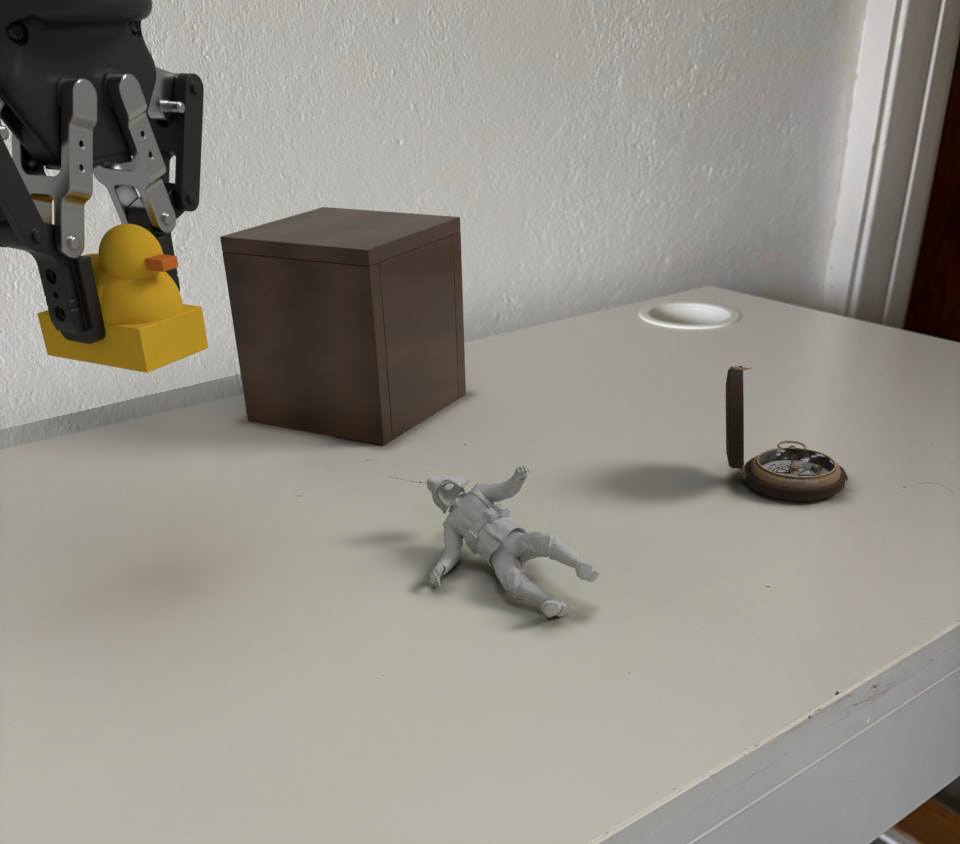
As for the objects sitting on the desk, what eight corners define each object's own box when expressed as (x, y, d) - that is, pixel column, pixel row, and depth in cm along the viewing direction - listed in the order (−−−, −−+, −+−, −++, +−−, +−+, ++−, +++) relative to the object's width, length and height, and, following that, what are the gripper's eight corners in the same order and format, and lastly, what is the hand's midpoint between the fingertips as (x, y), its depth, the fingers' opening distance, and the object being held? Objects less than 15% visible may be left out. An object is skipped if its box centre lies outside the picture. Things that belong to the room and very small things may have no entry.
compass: (850, 507, 61) (872, 387, 57) (715, 499, 63) (727, 382, 59) (839, 456, 68) (857, 346, 64) (716, 450, 69) (727, 342, 66)
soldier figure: (504, 658, 50) (360, 515, 55) (540, 676, 54) (403, 542, 60) (611, 537, 49) (454, 403, 54) (639, 564, 53) (491, 438, 59)
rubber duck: (47, 355, 49) (14, 224, 46) (111, 332, 52) (85, 208, 49) (155, 374, 46) (129, 237, 43) (217, 349, 50) (196, 219, 46)
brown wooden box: (247, 420, 76) (219, 236, 70) (339, 374, 85) (322, 206, 78) (383, 445, 72) (368, 250, 65) (466, 393, 80) (460, 216, 74)
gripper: (98, -105, 46) (167, 285, 56) (-206, -128, 36) (-59, 358, 45) (228, -115, 43) (278, 299, 53) (-63, -143, 33) (64, 382, 42)
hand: (122, 324), depth 49 cm, fingers closed on rubber duck, 4 cm apart
